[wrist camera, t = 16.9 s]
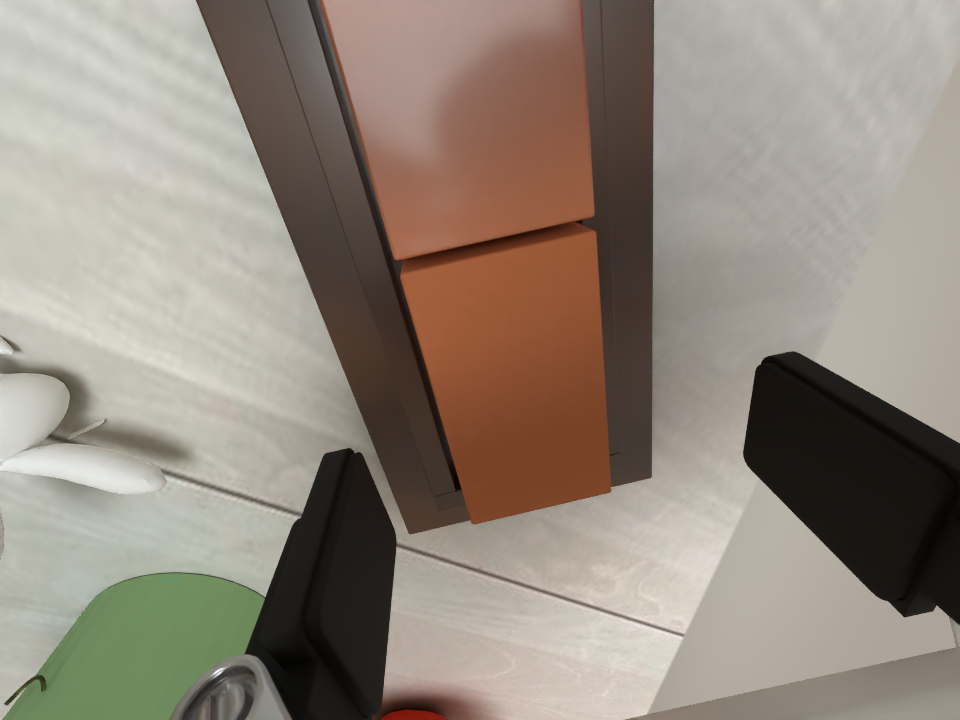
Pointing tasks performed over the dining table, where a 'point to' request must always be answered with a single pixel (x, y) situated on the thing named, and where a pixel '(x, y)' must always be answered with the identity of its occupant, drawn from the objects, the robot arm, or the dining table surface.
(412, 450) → the board
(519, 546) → the dining table surface
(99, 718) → the mug
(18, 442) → the rabbit figurine
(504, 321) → the block
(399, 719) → the apple
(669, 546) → the dining table surface
